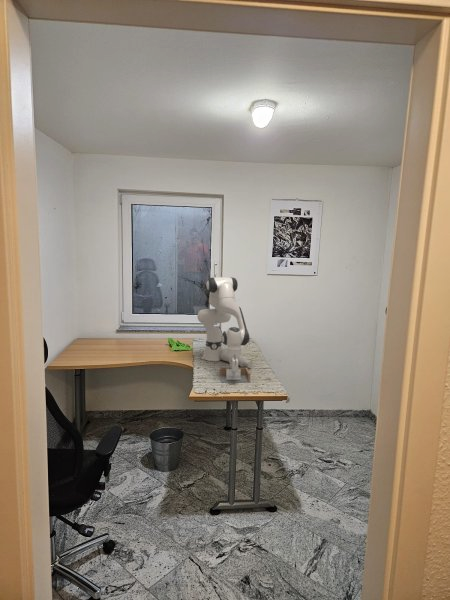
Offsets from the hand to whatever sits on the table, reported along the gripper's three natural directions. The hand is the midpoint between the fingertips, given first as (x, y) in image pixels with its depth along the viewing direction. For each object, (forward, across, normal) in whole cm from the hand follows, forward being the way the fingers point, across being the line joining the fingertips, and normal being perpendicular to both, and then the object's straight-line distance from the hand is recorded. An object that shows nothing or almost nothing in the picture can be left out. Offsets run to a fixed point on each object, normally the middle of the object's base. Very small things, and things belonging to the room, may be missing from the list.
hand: (233, 374), depth 229 cm
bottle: (+4, +34, -5) cm, 35 cm away
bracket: (+2, -1, 0) cm, 3 cm away
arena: (+3, +1, -1) cm, 4 cm away
